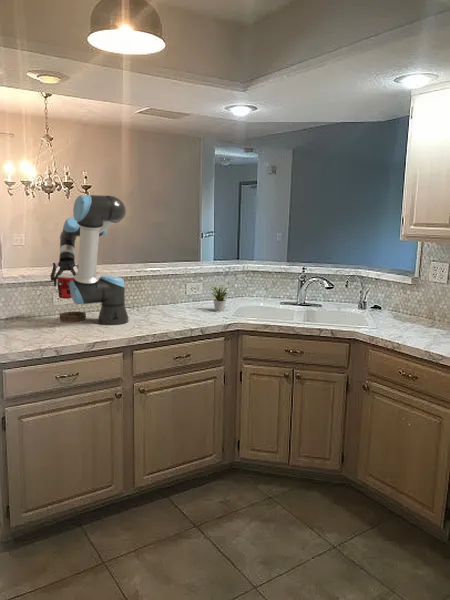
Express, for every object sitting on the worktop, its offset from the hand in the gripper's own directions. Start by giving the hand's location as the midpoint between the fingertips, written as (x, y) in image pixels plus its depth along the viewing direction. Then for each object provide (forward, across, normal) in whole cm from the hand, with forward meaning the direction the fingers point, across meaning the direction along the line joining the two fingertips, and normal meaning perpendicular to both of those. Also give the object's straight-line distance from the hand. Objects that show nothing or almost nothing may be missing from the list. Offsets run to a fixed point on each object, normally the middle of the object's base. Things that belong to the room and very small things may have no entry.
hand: (66, 290), depth 251 cm
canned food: (0, 0, -5) cm, 5 cm away
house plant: (0, -81, -23) cm, 84 cm away
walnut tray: (+8, -2, -14) cm, 17 cm away
